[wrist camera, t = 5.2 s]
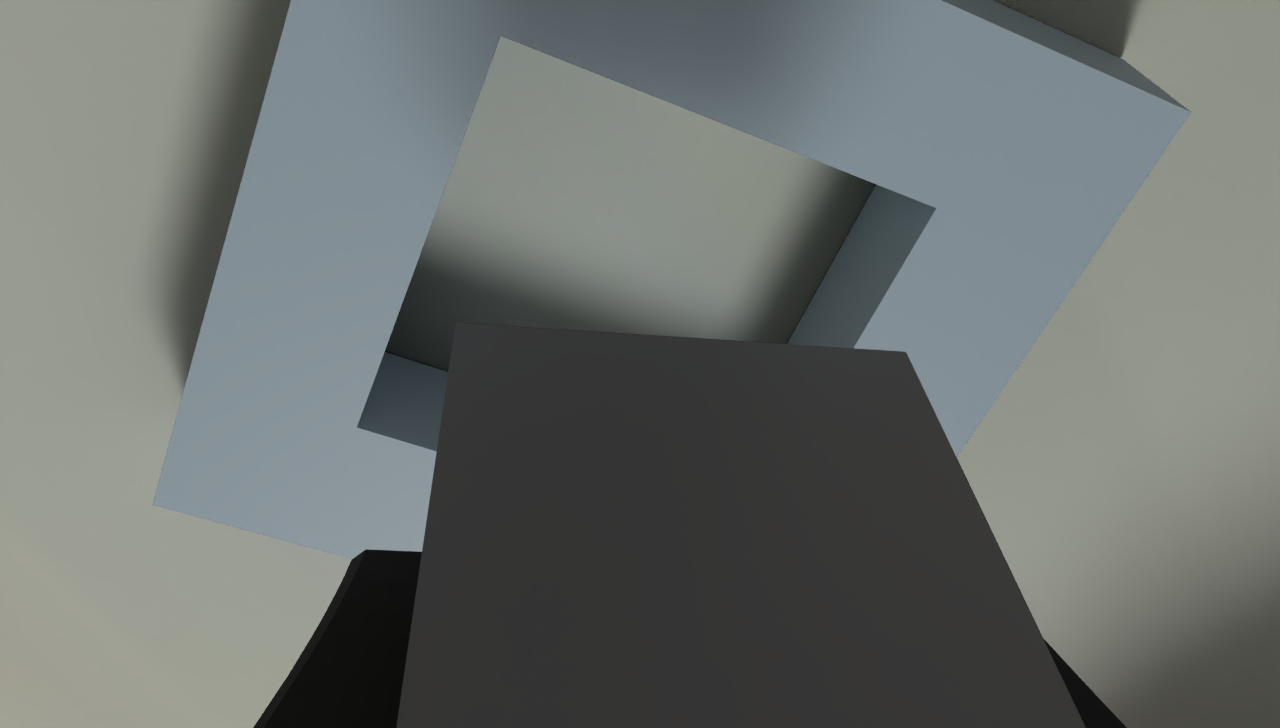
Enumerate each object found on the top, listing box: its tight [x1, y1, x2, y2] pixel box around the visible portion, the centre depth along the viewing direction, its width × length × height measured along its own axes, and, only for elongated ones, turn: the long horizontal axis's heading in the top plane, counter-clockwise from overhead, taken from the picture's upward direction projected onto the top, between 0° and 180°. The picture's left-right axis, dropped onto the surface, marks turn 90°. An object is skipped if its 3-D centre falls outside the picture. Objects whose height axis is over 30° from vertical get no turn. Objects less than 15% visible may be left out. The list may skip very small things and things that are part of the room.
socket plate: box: [152, 0, 1191, 559], centre depth 16 cm, size 10×10×2 cm
